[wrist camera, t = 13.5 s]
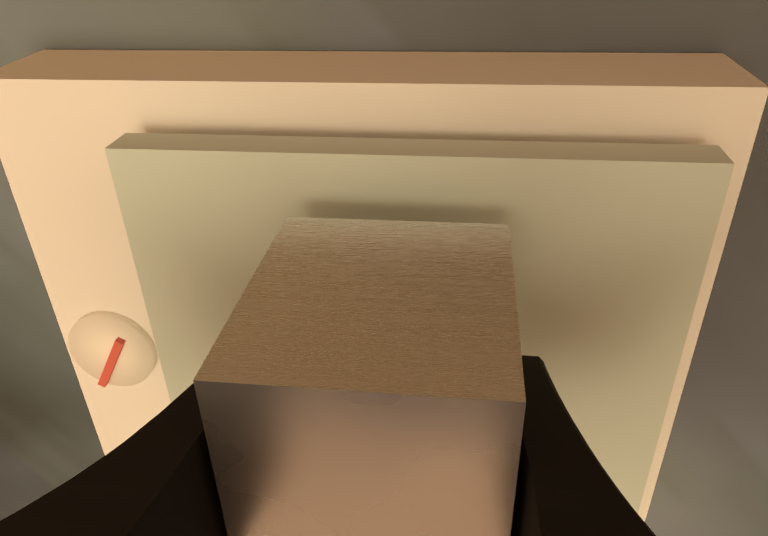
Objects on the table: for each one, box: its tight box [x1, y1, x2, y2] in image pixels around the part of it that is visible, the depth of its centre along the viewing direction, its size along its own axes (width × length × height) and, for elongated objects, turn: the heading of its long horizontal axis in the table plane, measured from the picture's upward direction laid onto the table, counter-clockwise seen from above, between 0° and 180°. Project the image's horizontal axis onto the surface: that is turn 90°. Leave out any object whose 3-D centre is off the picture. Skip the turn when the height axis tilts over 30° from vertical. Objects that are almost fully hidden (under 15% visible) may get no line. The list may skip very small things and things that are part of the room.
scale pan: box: [105, 133, 735, 514], centre depth 17 cm, size 13×14×1 cm
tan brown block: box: [193, 217, 526, 536], centre depth 12 cm, size 4×4×5 cm
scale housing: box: [0, 50, 768, 522], centre depth 20 cm, size 18×16×4 cm
